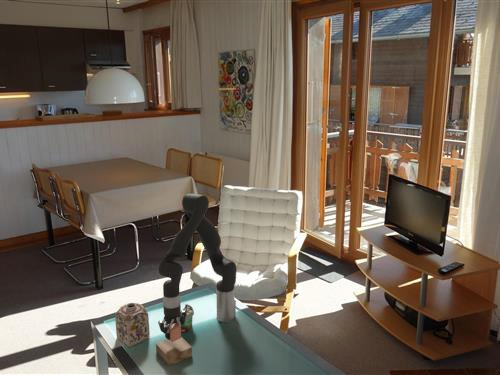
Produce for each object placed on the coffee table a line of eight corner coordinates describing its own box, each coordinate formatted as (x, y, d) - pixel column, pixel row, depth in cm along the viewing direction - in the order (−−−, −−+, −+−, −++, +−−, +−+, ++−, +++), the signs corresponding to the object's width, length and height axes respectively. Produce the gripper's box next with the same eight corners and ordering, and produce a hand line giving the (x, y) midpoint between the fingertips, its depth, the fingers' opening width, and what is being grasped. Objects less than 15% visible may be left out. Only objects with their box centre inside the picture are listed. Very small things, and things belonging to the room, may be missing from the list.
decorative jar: (150, 337, 217) (148, 304, 212) (129, 348, 209) (127, 314, 204) (136, 327, 225) (134, 295, 220) (116, 337, 217) (113, 305, 212)
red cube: (174, 333, 206) (174, 321, 205) (181, 337, 203) (180, 326, 201) (165, 337, 203) (165, 326, 201) (171, 342, 199) (171, 330, 198)
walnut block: (179, 343, 213) (179, 334, 212) (192, 356, 204) (191, 347, 203) (156, 352, 206) (155, 343, 205) (168, 366, 197) (168, 357, 196)
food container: (189, 336, 219) (189, 318, 216) (177, 334, 220) (177, 316, 217) (197, 322, 230) (197, 304, 227) (186, 320, 231) (185, 303, 228)
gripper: (180, 294, 205) (181, 326, 210) (153, 305, 196) (155, 339, 200) (190, 300, 200) (190, 333, 205) (163, 312, 190) (164, 346, 195)
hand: (173, 336), depth 203 cm, fingers closed on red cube, 5 cm apart
